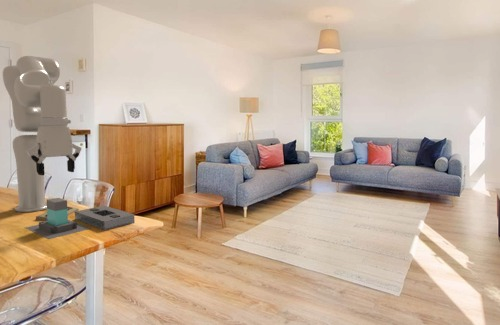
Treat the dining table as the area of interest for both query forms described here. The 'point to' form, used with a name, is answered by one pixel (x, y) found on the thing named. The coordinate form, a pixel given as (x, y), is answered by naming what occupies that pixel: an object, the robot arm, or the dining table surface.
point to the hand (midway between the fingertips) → (56, 173)
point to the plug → (57, 211)
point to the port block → (104, 217)
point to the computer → (44, 215)
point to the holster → (56, 229)
